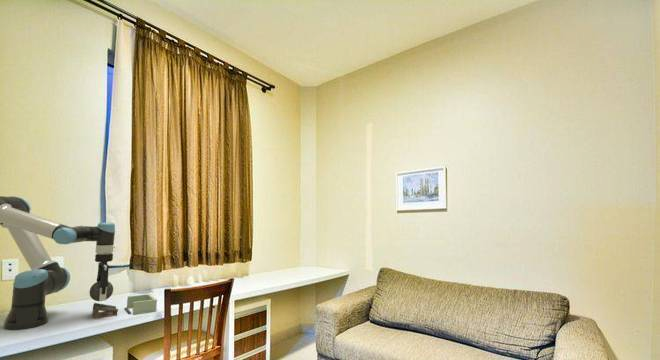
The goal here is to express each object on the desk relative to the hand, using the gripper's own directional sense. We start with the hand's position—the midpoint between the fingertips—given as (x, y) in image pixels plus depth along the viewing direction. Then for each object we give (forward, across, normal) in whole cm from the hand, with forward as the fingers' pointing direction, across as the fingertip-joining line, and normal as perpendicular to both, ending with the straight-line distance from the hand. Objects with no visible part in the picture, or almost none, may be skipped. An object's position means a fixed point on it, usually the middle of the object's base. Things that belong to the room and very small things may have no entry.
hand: (100, 298), depth 175 cm
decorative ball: (+1, 0, 0) cm, 1 cm away
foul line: (+8, 0, -12) cm, 15 cm away
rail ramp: (+8, 0, -2) cm, 9 cm away
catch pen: (+8, 0, -18) cm, 20 cm away
